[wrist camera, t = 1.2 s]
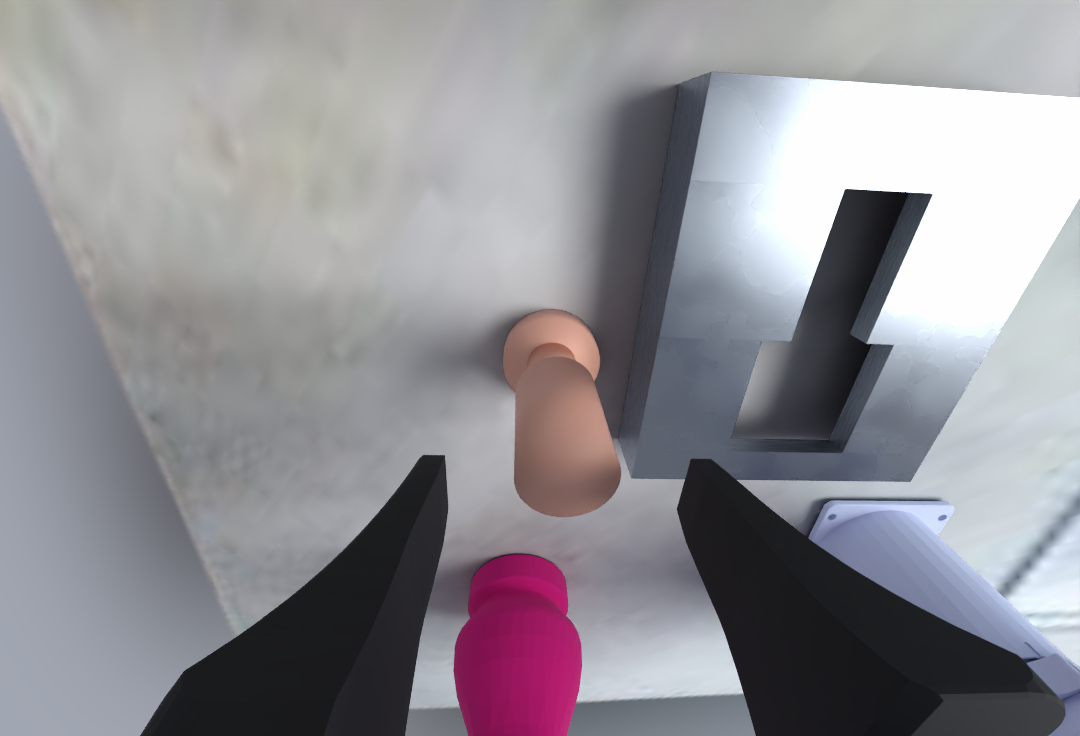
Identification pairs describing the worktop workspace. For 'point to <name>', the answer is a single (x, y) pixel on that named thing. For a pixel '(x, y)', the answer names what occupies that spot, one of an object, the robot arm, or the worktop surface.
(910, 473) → the keyhole plate
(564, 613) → the pepper mill
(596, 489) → the peg
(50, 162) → the worktop surface
